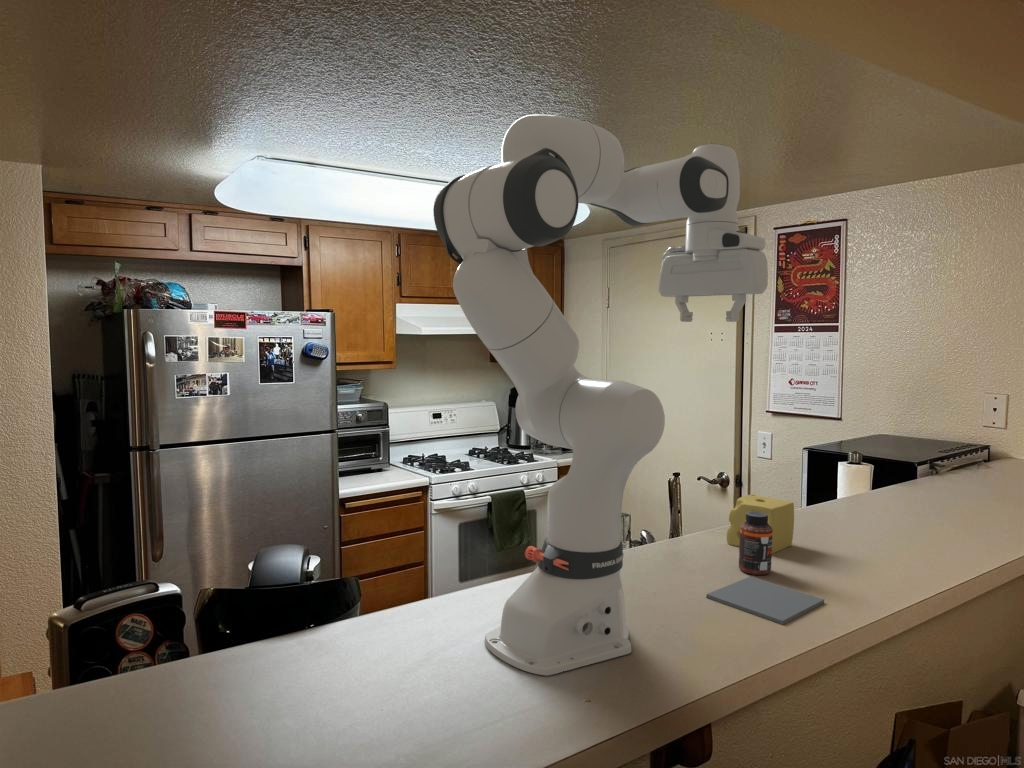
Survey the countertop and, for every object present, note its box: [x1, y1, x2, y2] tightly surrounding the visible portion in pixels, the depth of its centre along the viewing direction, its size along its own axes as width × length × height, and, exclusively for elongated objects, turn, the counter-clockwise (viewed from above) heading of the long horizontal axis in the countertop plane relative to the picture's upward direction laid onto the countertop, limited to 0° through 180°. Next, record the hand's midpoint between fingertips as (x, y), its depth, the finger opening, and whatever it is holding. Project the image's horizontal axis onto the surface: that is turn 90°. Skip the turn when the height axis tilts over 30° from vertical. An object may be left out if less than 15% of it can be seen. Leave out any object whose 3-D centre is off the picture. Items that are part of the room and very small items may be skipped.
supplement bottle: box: [738, 512, 773, 576], centre depth 132 cm, size 6×6×11 cm
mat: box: [706, 576, 825, 625], centre depth 118 cm, size 14×14×1 cm
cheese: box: [726, 493, 795, 554], centre depth 149 cm, size 10×11×10 cm
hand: (708, 321), depth 121 cm, fingers open, 8 cm apart
